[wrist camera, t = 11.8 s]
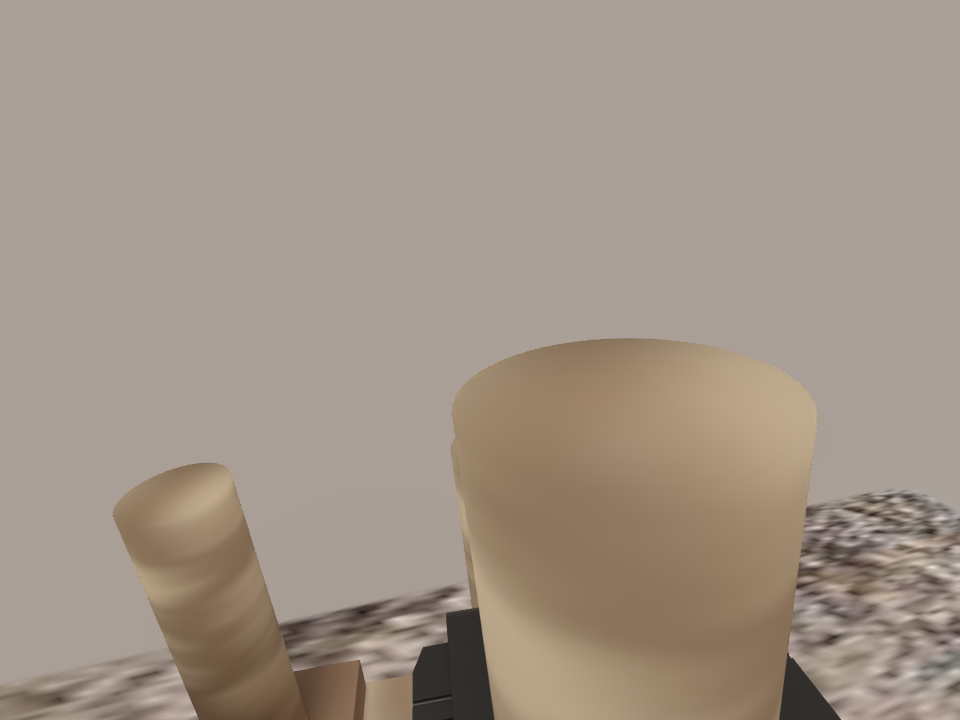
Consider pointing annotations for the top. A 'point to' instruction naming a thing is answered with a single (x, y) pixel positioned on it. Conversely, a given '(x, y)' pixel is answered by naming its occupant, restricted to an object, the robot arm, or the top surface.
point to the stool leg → (635, 528)
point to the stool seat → (238, 607)
